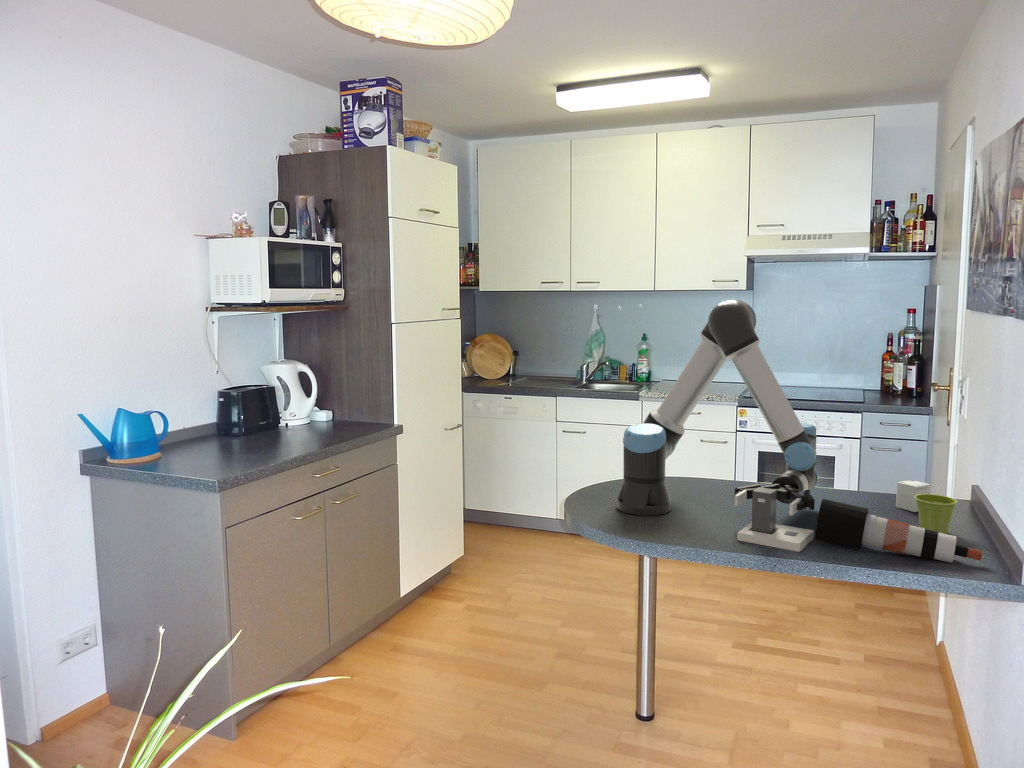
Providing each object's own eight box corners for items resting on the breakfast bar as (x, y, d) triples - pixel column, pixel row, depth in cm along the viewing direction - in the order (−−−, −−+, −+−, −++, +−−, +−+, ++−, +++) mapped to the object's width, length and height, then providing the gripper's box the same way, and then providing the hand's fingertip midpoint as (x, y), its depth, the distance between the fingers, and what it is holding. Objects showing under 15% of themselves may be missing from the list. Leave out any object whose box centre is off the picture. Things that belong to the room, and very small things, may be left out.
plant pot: (936, 525, 199) (938, 492, 197) (964, 536, 189) (966, 502, 188) (904, 527, 197) (906, 494, 196) (930, 539, 188) (932, 505, 187)
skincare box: (914, 512, 210) (915, 486, 209) (895, 507, 215) (896, 481, 214) (929, 509, 212) (930, 484, 211) (910, 504, 218) (911, 479, 217)
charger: (751, 538, 190) (752, 491, 189) (757, 533, 194) (758, 487, 193) (769, 541, 188) (770, 493, 186) (775, 536, 191) (776, 489, 190)
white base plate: (737, 540, 189) (737, 531, 188) (753, 527, 198) (753, 519, 198) (799, 551, 180) (799, 542, 180) (813, 538, 189) (813, 529, 189)
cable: (976, 587, 169) (984, 556, 163) (813, 548, 185) (816, 518, 179) (978, 555, 176) (986, 524, 170) (821, 520, 192) (824, 490, 186)
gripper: (837, 508, 198) (814, 529, 181) (743, 493, 213) (714, 511, 196) (839, 479, 197) (815, 498, 180) (744, 467, 212) (714, 483, 195)
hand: (762, 505), depth 188 cm, fingers open, 13 cm apart
